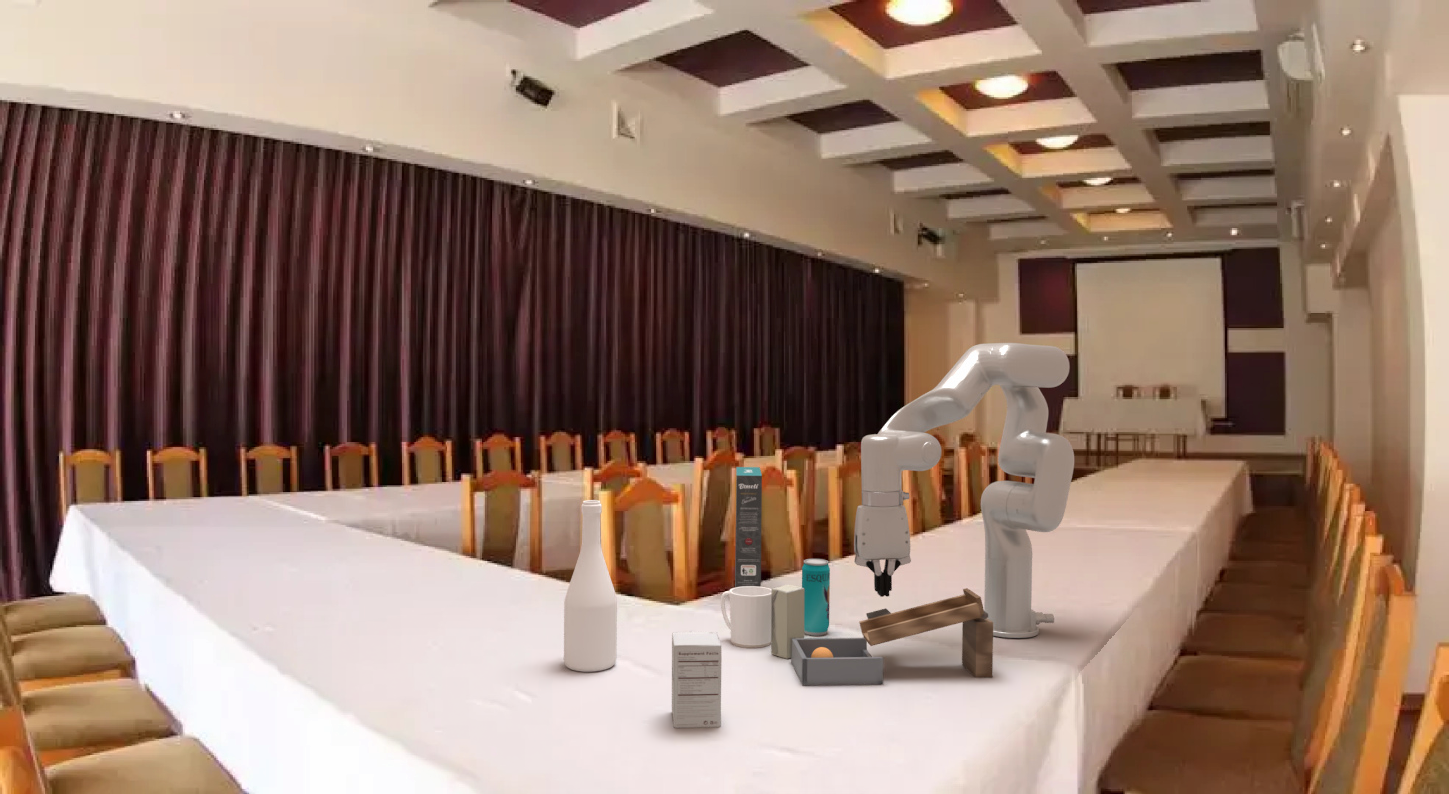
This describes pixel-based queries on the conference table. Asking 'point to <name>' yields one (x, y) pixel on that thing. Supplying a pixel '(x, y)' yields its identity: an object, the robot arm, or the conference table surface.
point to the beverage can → (816, 596)
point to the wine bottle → (590, 602)
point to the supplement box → (696, 679)
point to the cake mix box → (748, 526)
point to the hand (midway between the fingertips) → (883, 594)
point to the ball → (822, 653)
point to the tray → (836, 662)
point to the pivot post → (978, 647)
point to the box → (786, 618)
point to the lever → (921, 618)
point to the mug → (749, 616)
